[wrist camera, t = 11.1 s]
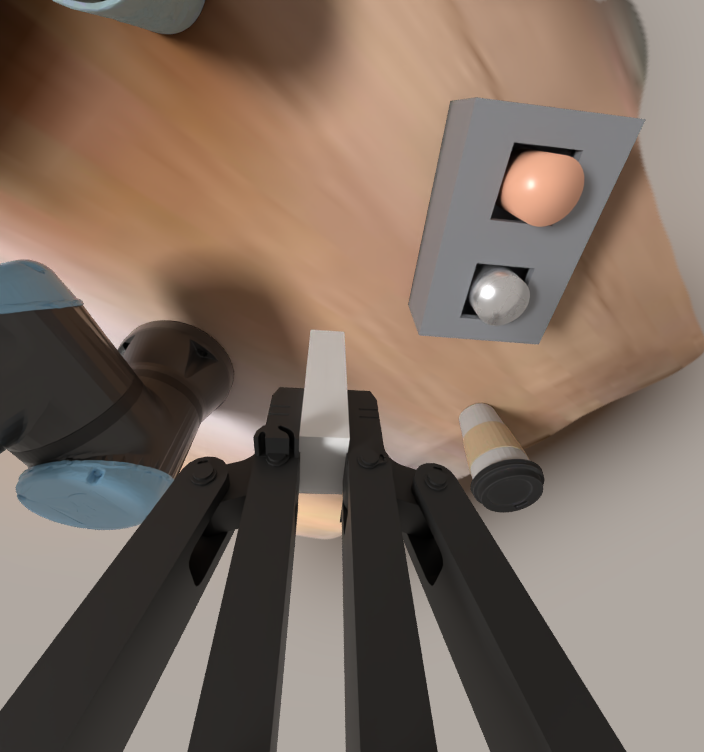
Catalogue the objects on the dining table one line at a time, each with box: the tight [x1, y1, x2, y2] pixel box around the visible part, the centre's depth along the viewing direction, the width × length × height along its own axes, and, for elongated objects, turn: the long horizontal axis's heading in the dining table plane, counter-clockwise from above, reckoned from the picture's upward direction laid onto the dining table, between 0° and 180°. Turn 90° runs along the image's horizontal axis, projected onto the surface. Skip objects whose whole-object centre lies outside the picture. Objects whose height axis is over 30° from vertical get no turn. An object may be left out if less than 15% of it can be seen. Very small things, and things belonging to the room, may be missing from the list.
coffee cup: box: [459, 403, 544, 512], centre depth 52 cm, size 9×9×15 cm
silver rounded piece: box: [466, 263, 530, 326], centre depth 38 cm, size 5×5×7 cm
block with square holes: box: [408, 97, 645, 344], centre depth 37 cm, size 21×14×8 cm, turn 174°
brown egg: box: [495, 148, 584, 227], centre depth 31 cm, size 5×5×7 cm
